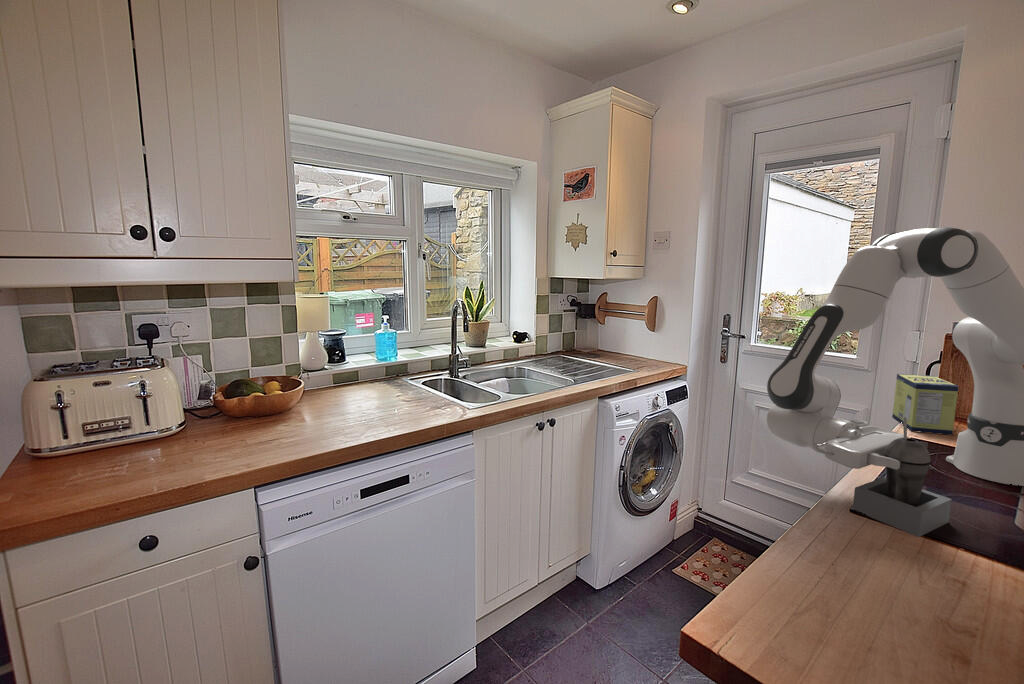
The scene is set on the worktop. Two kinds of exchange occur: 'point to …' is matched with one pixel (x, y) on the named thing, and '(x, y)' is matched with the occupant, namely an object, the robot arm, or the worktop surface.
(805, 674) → the worktop surface
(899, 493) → the beverage cup
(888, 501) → the holder block
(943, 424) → the protein box
